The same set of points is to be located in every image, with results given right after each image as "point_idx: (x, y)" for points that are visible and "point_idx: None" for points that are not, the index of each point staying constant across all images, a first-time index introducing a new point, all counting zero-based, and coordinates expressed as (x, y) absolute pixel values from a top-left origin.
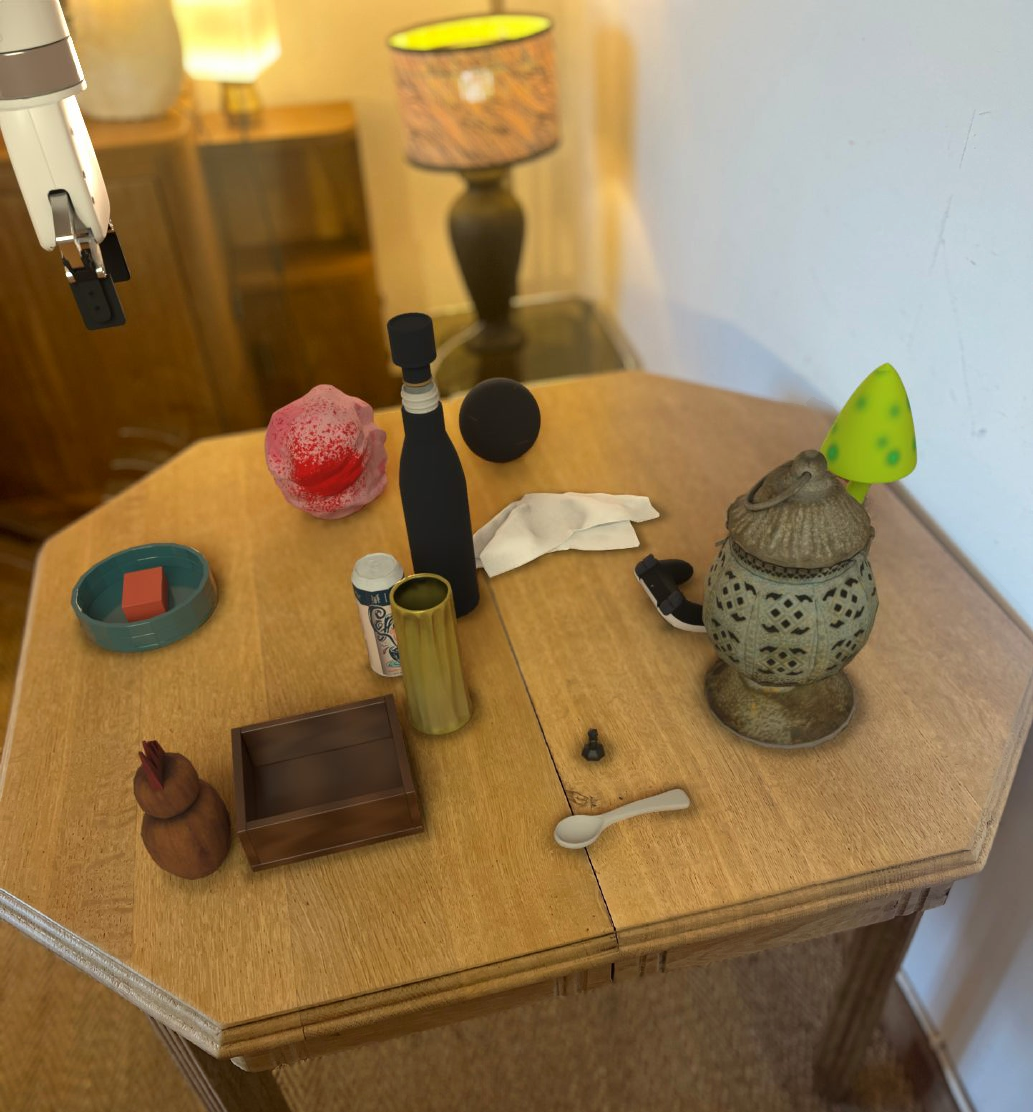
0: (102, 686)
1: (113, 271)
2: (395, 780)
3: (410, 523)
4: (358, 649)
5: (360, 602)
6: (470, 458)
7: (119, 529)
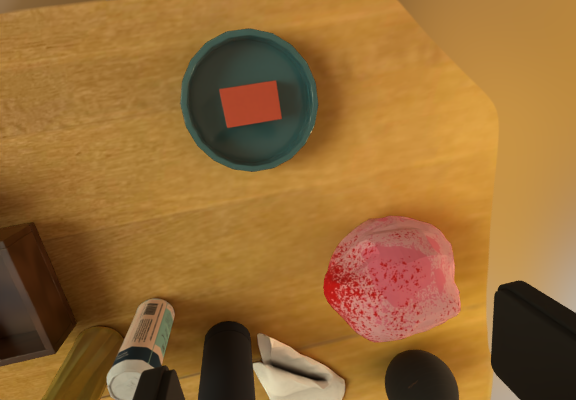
0: (138, 77)
1: (517, 362)
2: (17, 330)
3: (207, 396)
4: (175, 285)
5: (118, 353)
6: (408, 340)
7: (386, 44)
